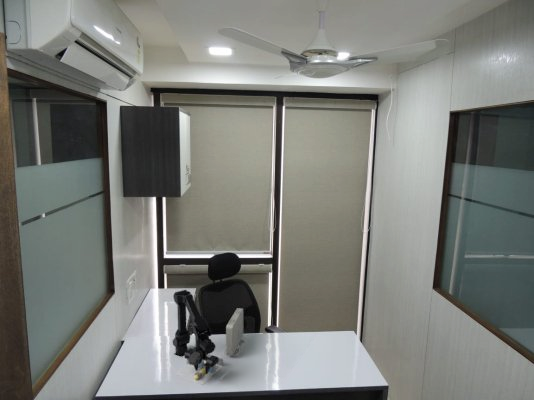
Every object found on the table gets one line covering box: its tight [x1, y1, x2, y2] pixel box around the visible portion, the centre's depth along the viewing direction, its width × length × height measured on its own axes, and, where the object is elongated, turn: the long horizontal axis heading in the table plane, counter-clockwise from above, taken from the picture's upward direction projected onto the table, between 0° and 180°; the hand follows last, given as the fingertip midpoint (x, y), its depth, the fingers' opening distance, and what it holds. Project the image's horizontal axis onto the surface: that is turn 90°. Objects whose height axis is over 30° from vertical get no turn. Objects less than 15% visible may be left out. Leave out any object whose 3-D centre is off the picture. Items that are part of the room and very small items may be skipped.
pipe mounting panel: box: [174, 353, 224, 386], centre depth 188 cm, size 19×18×5 cm
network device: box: [224, 307, 246, 357], centre depth 210 cm, size 26×9×20 cm, turn 170°
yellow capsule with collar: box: [194, 367, 206, 380], centre depth 184 cm, size 11×3×2 cm, turn 153°
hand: (201, 372), depth 184 cm, fingers open, 6 cm apart
